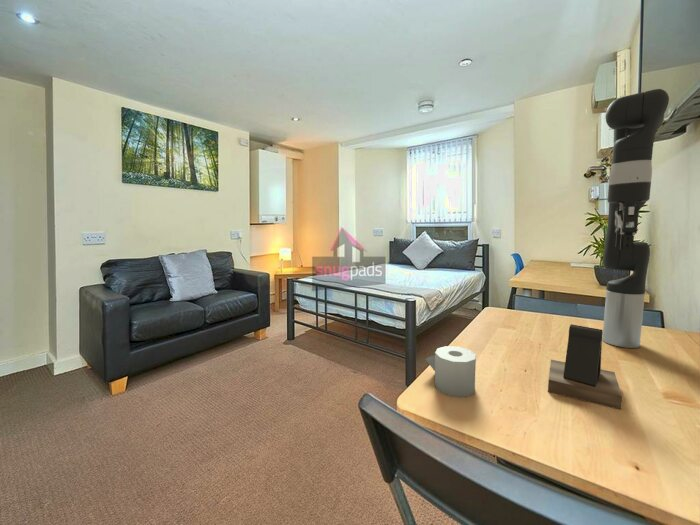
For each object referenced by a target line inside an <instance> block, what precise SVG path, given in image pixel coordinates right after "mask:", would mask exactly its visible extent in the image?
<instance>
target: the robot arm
mask: <svg viewBox="0 0 700 525" xmlns="http://www.w3.org/2000/svg"><path fill="white" fill-rule="evenodd" d="M669 101H670V97H669V94H668V92H667V91H666V90H664V89H662V88H656V89H650V90H646V91H642V92H637V93H633V94H630V95H626V96H621V97H617V98H615V99H614V100H613V101H612V102H611V103H610V104H609V105H608V107H607V109H606V111H605V118H604V119H605V122H606V125H607V126H608V127H609V128H610V129H612V130H613V147H612V159H611V160H612V161H611V168H610V172H609V178H608V179H609V180H608V191H607V202H608V216H607V218H608V219H607V227H606V232H605V233H606V234H605V241H604V248H603V253H602V254H603V256H602V263H603V267H604V268H605V269H606V270H610V271H611V270H612V271H613V270H614V271H624V272H625V271H627V272H632V274H630V275H628V276H625V277H623V278H618V279H612V280H609V281H607V283H606V288H605V289H606V290H605V291H606V292H605V305H604V313H603V314H604V315H603V327H602V330H603V334H602V342H604V343H606V344H609V345H612V346H616V347H618V348H619V347H621V348H627V349H637V348H640V345H641V338H642V337H641V336H642V326H643V319H644V318H643V317H644V306H645V295H646V280H647V274H648V269H649V263H650V256H651V247H650V245H649V244H648V243H647V242H645V241H634V240H635V235H636V234H637V232H638V224H639V215H640V210H641V209H642V208H643V207H644V205H645V204H646V203H647V202H648V201H650V198H651V197H650V196H651V189H652V188H651V187H652V177H653V176H652V175H653V163H652V162H653V161H652V160H653V153H654V152H653V150H654V143H655V139H656V135H657V131H658V129H660V127H661V126H662V124H663V122H664V118H665V113H666V112H667V109H668V106H669V103H670V102H669Z"/></svg>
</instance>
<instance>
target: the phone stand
mask: <svg viewBox="0 0 700 525" xmlns="http://www.w3.org/2000/svg"><path fill="white" fill-rule="evenodd" d="M602 336H603V329H599V328H593V327H589V326H583V325H577V324H573V323H572V324H571V323H570V325H569V327H568V339H567V346H566V355H565V361H564V362H565V368H564V376H563V378H566V379H569V380H573V381H576V382H580V383H583V384H587V385H590V386H594V387H596V384H597V381H598V379H599V376H600V373H601V368H602V350H603V348H602V347H603V346H602V345H603V343H602V342H603V340H602Z"/></svg>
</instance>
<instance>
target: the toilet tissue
mask: <svg viewBox="0 0 700 525" xmlns="http://www.w3.org/2000/svg"><path fill="white" fill-rule="evenodd" d="M424 360H426V362H427V363H428V365H429V366H430V367H431V368H432V369H433V371H434V387H435V386H436V387H435V388H436V389H437V390H438V391H439V393H441V394H444V395H446V396H449V397H451V398H465V399H466V398H468V397H470V396H473V395H475V392H476V391H475V390H476V368H477V367H476V364H477V363H476V361H477V354H476V353H474V351H472V350H470V349H468V348H465V347H461V346H455V345H454V346H453V345H450V346H449V345H445V346H441V347H438V348H436V351H435V352H434V354H433V355H431V356H429V357H426V358H425V359H424Z"/></svg>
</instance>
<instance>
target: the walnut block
mask: <svg viewBox="0 0 700 525" xmlns="http://www.w3.org/2000/svg"><path fill="white" fill-rule="evenodd" d="M564 368H565V361H560V360H555V359H550V364H549V374H548V380H547V381H548V384H547V392H549V393H552V394H557V395H560V396H565V397H568V398H572V399H575V400H580V401H584V402H588V403H591V404H592V403H593V404H597V405H600V406H604V407H607V408H612V409H617V410H620V411H621V410H622V403H623V395H622V391H621V388H620V385H619V382H618V379H617V375H616V372H615V371H611V370H606V369H601V373H600V376H599V379H598V381H597V384H596V387H594V386H590V385H587V384H583V383H580V382H576V381H573V380H569V379H566V378H563V376H564Z"/></svg>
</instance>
